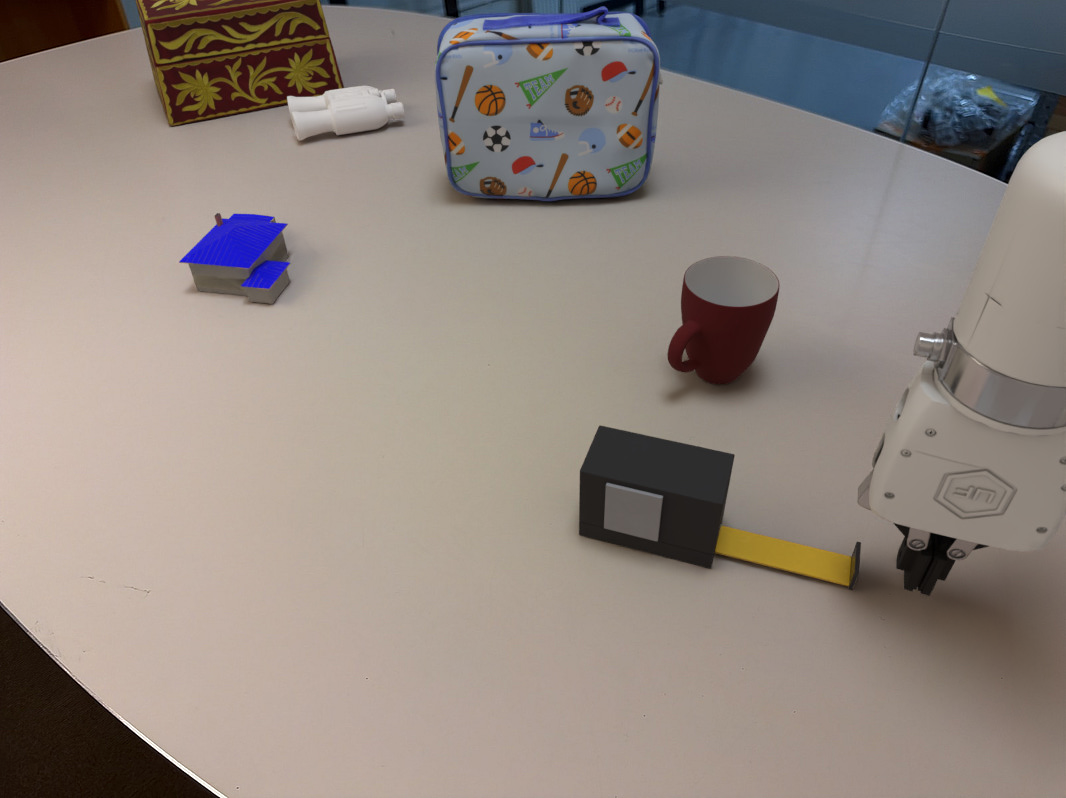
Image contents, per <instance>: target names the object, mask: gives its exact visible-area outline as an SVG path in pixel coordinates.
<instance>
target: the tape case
mask: <svg viewBox="0 0 1066 798" xmlns="http://www.w3.org/2000/svg"><path fill="white" fill-rule="evenodd" d="M735 456H736V455H735V453H731V452H725V451H720V450H716V449H711V448H707V447H703V446H698V445H693V444H688V443H685V442H679V441H675V440H670V439H666V438H661V437H655V436H651V435H647V434H642V433H639V432H638V433H637V432H632V431H628V430H623V429H619V428H614V427H610V426H606V425H598V427H597V429H596V432H595V434H594V436H593V439H592V441H591V444H590V445H589V448H588V451H587V453H586V455H585V458H584V460H583V462H582V464H581V466H580V469H579V493H578V494H579V498H578V501H579V503H578V504H579V506H578V514H579V515H578V535H579V536H581V537H586V538H590V539H593V540H597V541H601V542H605V543H608V544H612V545H617V546H621V547H625V548H628V549H633V550H637V551H641V552H644V553H648V554H652V555H657V556H660V557H664V558H667V559H671V560H675V561H680V562H683V563H687V564H691V565H695V566H698V567H704V568H707V569H712V567H713V562H714V556H715V549H716V545H717V540H718V536H719V532H720V527H721V525H722V524H723V519H724V514H725V510H726V509H725V508H726V503H727V499H728V493H729V487H730V483H731V478H732V477H731V476H732V472H733V468H734V467H733V466H734V461H735Z"/></svg>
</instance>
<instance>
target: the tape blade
mask: <svg viewBox="0 0 1066 798" xmlns="http://www.w3.org/2000/svg"><path fill="white" fill-rule="evenodd" d="M861 548H862V542H861V541H856V542H855V545H854V548H853V551H852V553H851V555H847V554H842V553H839V552H834V551H830V550H825V549H821V548H817V547H813V546H809V545H805V544H801V543H796V542H792V541H788V540H784V539H780V538H775V537H771V536H767V535H763V534H759V533H756V532H755V533H754V532H751V531H746V530H743V529H739V528H734V527H730V526H726V525H722V524H721V525H720V530H719V534H718V538H717V543H716V547H715V552H714V554H717V555H720V556H721V555H722V556H726V557H728V558H729V557H730V558H732V559H737V560H741V561H746V562H750V563H753V564H757V565H762V566H766V567H769V568H773V569H777V570H782V571H786V572H790V573H792V574H793V573H794V574H796V575H801V576H805V577H810V578H814V579H818V580H822V581H826V582H830V583H832V584H833V583H834V584H838V585H841V586H846V587H847V590H850V591H853V590H854V587H855V585H856V582H857V580H858V578H859V574H860V564H861V550H862V549H861Z"/></svg>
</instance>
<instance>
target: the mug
mask: <svg viewBox="0 0 1066 798" xmlns="http://www.w3.org/2000/svg"><path fill="white" fill-rule="evenodd" d="M780 285H781V284H780V280H779V278H778V277H777V275H776V274H775V272H774V271H773V270H771V269H770V268H769V267H768V266H766V265H764V264H763V263H760V262H758V261H755V260H752V259H750V258H747V257H746V258H745V257H740V256H733V255H732V256H731V255H719V256H711V257H707V258H704V259H701V260H698V261H696V262H694V263H692V264H691V265H690V266H689V267H688V268H687V269H686V270H685V271H684V274H683V279H682V286H681V295H680V314H681V322H682V323H681V324H682V325H681V326H679V327H678V328H677V329H676V331H675V332H674V334H673V335H672V337H671V339H670V341H669V345H668V348H667V361H668V364H669V365H670V367H671V368H673V369H674V370H675V371H677V372H680V373H685V374H686V373H690V372H693V371H694V372H695V374H696V375H697V376H698V378H700V379H701V380H702V381H703V382H705V383H709V384H712V385H717V386H719V385H722V386H723V385H729V384H732V383H734V382H735V381H736V380H738V379H739V378H740V377H741V376H742V375H743V374H744V373H745V372H746V371H747V370H748V369H749V368H750V367H751V366H752V364H753V363H754V361H755V360H756V358H757V357H758V355H759V352H760V350H761V348H762V346H763V344H764V341H765V339H766V337H767V333H768V332H769V329H770V326H771V324H772V322H773V320H774V317H775V312H776V310H777V306H778V300H779V294H780V287H781V286H780ZM684 352H685V353H686V356H687V359H686V360H683V355H684Z"/></svg>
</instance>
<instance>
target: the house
mask: <svg viewBox="0 0 1066 798" xmlns="http://www.w3.org/2000/svg"><path fill="white" fill-rule="evenodd" d="M213 217H214V219H215V223H216V224H215V225H214V226H213V227H212V228H211V229H210V230H209V231H208V232H207V233H206V234H205V235H204V236H203V237H202V238H201V239H200V240H199V241H198V242H197V243H196V244H195V245H194V246H193V247H192V248H191V249H190V250H189V251H188V252H187V253H186V254H185V255H184V256H183V257H182V258H181V259H180V260H179V261H178V264H186V265H187V264H188V267H189V269H190V273H191V275H192V278H193V281H194V283H195V287H196V289H197V292H203V293H215V294H225V295H235V296H247V299H248V302H251V303H260V304H268V305H269V304H271V305H273V304H274V303H275V301H276V300H277V299H278V298H279V296H280V295H281V294H282V293H283V291H284V290H285V288H286V287H287V286H288V285H289V284H290V282H291V281H290V277H289V272H288V267H289V266H290V265H291V262H290V261H287V260H288V258H289V252H288V249H287V244H286V241H285V237H284V233H283V231H284V230H285V229H286V228H287V227H288V225H289V223H284V222H277V221H276V218H275V216H273V215H272V216H271V215H264V214H257V213H232V215H231V216H229V218H224V217H223V218H222V215H221V213H220V212H219V213H218V212H216V213H215V215H213Z"/></svg>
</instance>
